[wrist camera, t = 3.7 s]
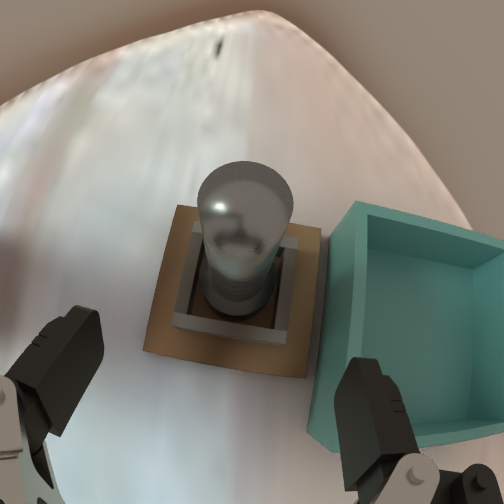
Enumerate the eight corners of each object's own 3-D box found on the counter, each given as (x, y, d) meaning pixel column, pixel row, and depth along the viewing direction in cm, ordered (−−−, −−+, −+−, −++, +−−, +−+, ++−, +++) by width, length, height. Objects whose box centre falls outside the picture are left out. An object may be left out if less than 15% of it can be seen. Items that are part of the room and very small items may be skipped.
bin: (306, 431, 20) (332, 452, 14) (329, 237, 25) (355, 200, 19) (464, 425, 20) (510, 430, 14) (470, 265, 25) (511, 243, 19)
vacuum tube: (196, 314, 21) (160, 252, 10) (210, 250, 23) (195, 138, 11) (265, 326, 21) (307, 277, 10) (274, 261, 23) (317, 158, 11)
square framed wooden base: (147, 351, 21) (134, 349, 18) (179, 211, 25) (173, 191, 22) (301, 377, 21) (312, 379, 18) (317, 234, 25) (328, 217, 22)
